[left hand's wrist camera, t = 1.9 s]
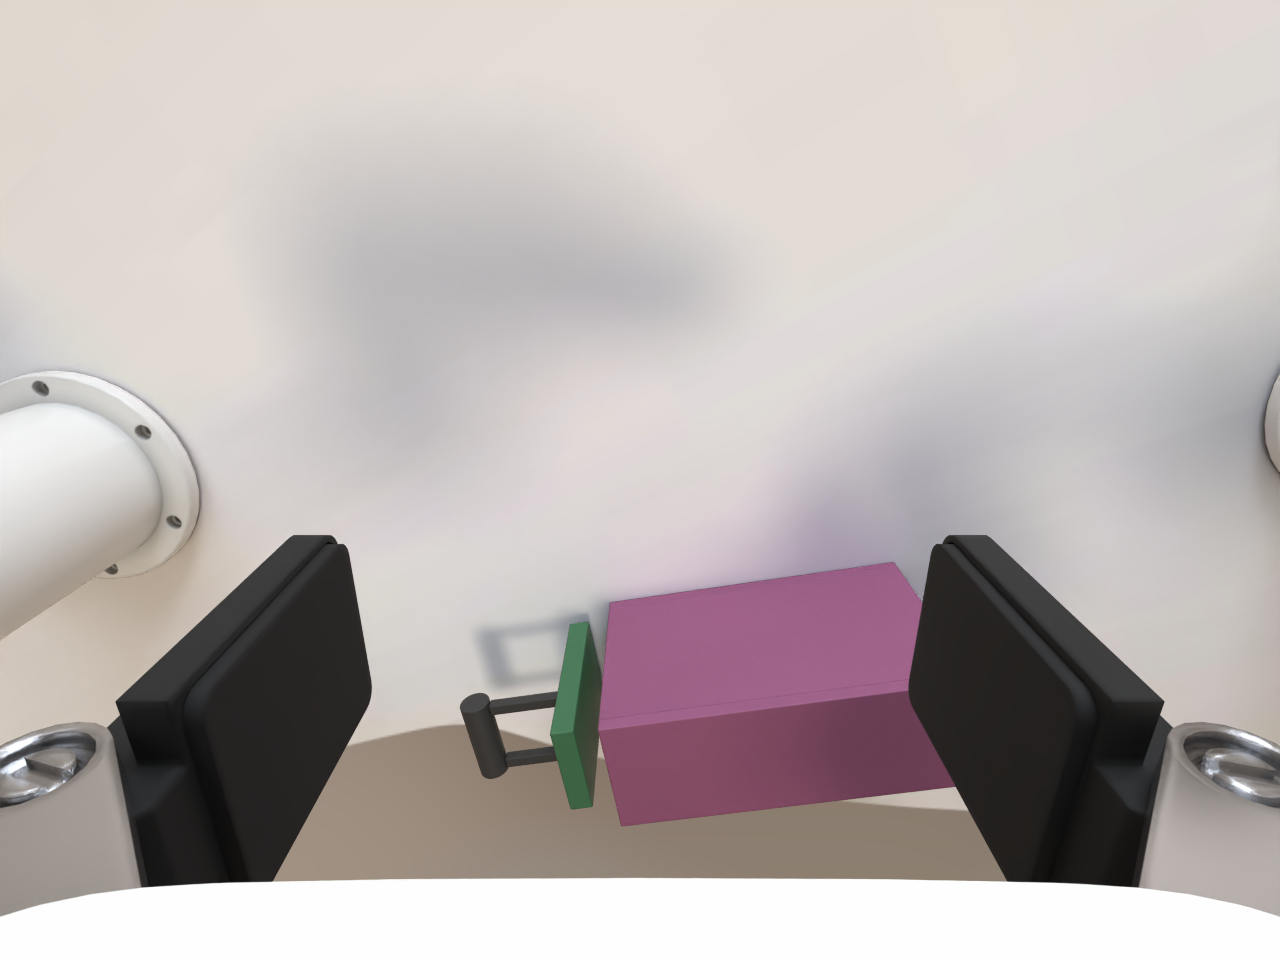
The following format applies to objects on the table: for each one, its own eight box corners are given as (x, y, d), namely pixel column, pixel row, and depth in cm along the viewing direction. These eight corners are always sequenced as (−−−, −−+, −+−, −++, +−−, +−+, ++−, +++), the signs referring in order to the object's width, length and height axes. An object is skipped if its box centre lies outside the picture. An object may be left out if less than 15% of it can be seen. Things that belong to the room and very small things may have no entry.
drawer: (503, 700, 45) (467, 822, 36) (484, 635, 43) (441, 748, 34) (843, 654, 43) (894, 771, 35) (838, 585, 42) (890, 689, 33)
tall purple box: (627, 682, 46) (621, 826, 35) (609, 602, 43) (597, 730, 33) (897, 646, 44) (975, 784, 34) (893, 561, 42) (977, 681, 31)
